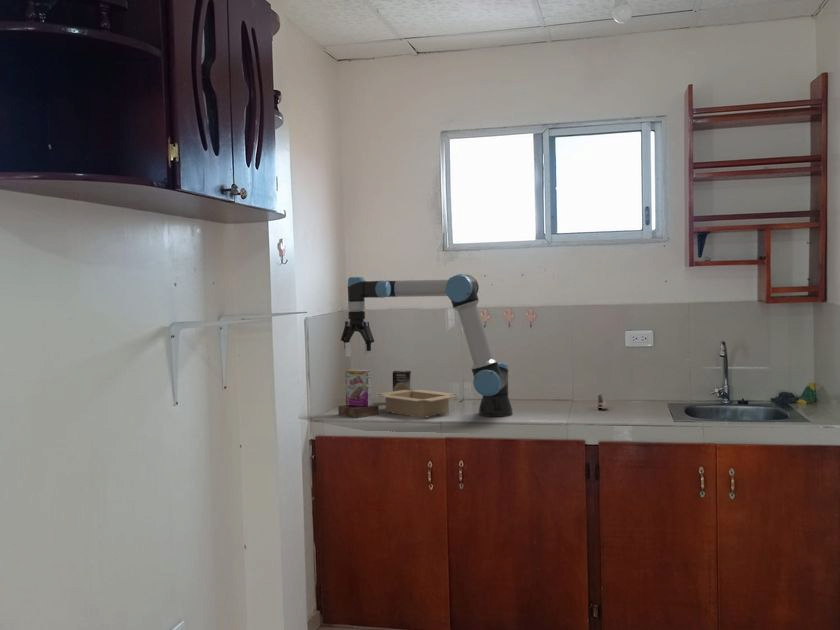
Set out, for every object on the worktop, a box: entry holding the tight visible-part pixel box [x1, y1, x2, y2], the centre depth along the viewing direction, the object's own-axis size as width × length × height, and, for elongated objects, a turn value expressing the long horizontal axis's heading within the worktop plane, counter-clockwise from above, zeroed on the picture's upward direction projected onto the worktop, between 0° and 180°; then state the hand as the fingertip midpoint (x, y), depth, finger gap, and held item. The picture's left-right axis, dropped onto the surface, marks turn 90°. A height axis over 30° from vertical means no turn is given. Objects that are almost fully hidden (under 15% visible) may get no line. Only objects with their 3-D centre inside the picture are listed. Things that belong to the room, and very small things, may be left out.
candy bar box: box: [345, 369, 373, 407], centre depth 345 cm, size 11×5×16 cm, turn 70°
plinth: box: [337, 404, 380, 419], centre depth 346 cm, size 13×13×4 cm
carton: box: [378, 389, 458, 418], centre depth 349 cm, size 34×26×8 cm
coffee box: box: [392, 370, 412, 392], centre depth 376 cm, size 9×6×16 cm
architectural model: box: [597, 393, 607, 409], centre depth 348 cm, size 3×7×7 cm, turn 166°
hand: (357, 357), depth 345 cm, fingers open, 13 cm apart
